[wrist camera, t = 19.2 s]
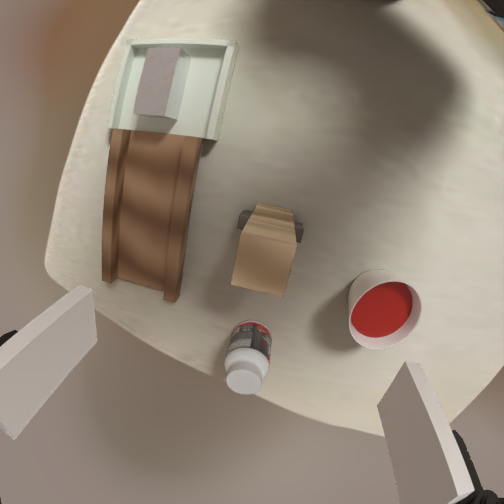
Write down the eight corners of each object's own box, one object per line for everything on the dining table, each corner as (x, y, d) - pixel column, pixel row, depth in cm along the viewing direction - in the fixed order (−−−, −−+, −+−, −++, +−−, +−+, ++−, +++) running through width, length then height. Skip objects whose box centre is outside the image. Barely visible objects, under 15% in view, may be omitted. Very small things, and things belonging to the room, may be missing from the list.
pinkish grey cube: (154, 86, 30) (140, 79, 26) (184, 88, 29) (172, 80, 26) (148, 117, 31) (132, 113, 27) (177, 119, 31) (164, 116, 27)
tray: (135, 45, 28) (127, 39, 26) (239, 47, 28) (235, 40, 26) (115, 128, 32) (106, 128, 30) (217, 140, 32) (213, 139, 29)
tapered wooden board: (245, 199, 34) (219, 228, 20) (304, 213, 33) (317, 251, 20) (239, 232, 35) (211, 279, 22) (296, 245, 35) (302, 300, 21)
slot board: (125, 129, 32) (112, 128, 29) (205, 138, 32) (198, 137, 29) (112, 272, 39) (102, 280, 36) (182, 292, 38) (174, 302, 35)
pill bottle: (278, 343, 39) (275, 392, 30) (244, 354, 41) (234, 403, 31) (261, 313, 38) (253, 359, 29) (226, 326, 39) (210, 372, 30)
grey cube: (162, 57, 28) (148, 47, 24) (192, 58, 28) (181, 47, 24) (154, 86, 30) (140, 79, 26) (184, 88, 29) (172, 80, 26)
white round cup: (407, 309, 36) (424, 334, 30) (347, 330, 38) (356, 358, 32) (397, 251, 33) (417, 269, 27) (332, 273, 35) (340, 296, 29)
